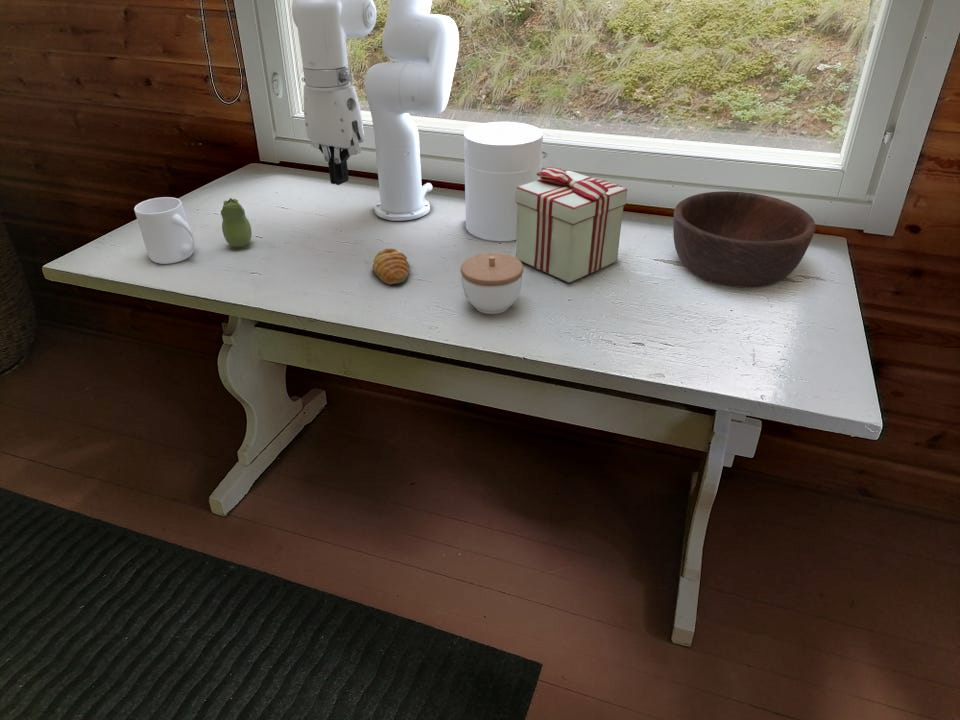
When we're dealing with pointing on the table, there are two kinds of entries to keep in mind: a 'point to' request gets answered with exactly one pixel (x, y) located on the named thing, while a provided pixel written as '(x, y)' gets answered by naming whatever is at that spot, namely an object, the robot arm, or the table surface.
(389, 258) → the pastry
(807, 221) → the wooden bowl
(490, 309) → the trinket box
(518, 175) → the canister
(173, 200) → the mug
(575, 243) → the gift box
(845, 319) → the table surface
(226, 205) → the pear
